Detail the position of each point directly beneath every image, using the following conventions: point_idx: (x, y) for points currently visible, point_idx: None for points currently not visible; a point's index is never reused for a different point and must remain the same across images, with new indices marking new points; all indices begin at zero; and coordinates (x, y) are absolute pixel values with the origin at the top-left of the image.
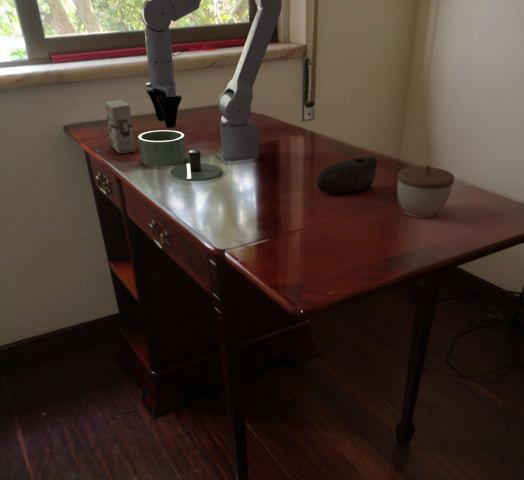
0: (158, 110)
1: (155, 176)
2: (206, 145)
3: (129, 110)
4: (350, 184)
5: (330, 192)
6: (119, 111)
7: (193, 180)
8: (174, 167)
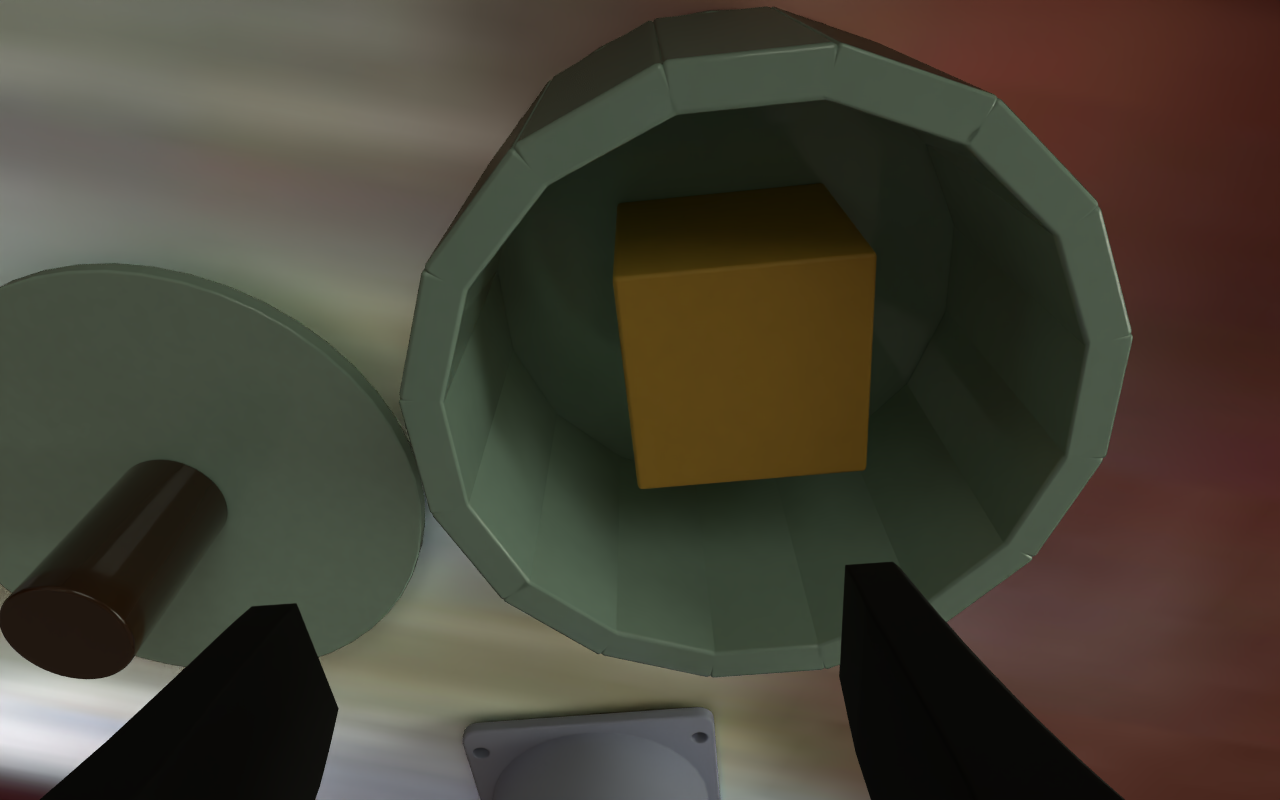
0: (908, 745)
1: (186, 92)
2: (1070, 702)
3: None
4: None
5: None
6: None
7: None
8: (304, 342)
